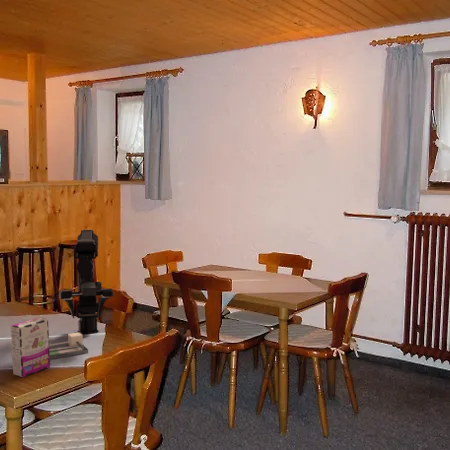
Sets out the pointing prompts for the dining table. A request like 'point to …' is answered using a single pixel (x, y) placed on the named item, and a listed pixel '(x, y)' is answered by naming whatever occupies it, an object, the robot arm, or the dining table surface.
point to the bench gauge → (65, 350)
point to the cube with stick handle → (75, 339)
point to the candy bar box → (30, 346)
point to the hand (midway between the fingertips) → (86, 317)
